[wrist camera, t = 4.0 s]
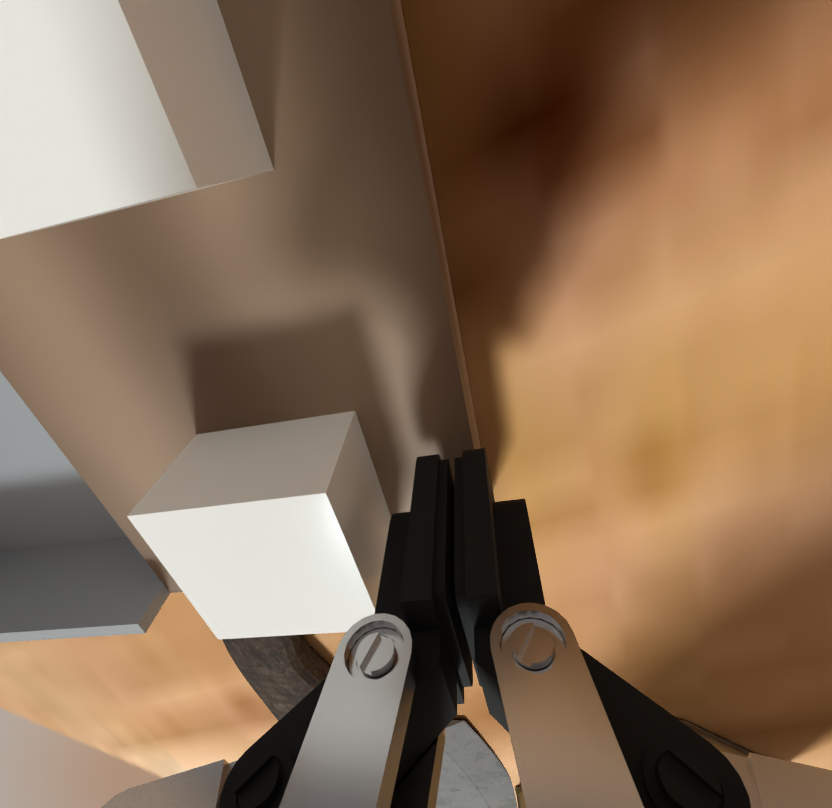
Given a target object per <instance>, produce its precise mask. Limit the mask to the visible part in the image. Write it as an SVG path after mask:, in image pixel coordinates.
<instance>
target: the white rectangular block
mask: <svg viewBox="0 0 832 808" xmlns="http://www.w3.org/2000/svg"><path fill="white" fill-rule="evenodd" d="M273 170H274V169H273V166H272V163H271V160H270V157H269V154H268V151H267V148H266V145H265V142H264V139H263V136H262V133H261V130H260V127H259V124H258V121H257V118H256V115H255V112H254V109H253V106H252V103H251V100H250V97H249V94H248V91H247V88H246V85H245V82H244V80H243V77H242V74H241V71H240V68H239V65H238V62H237V59H236V56H235V53H234V50H233V47H232V44H231V41H230V38H229V35H228V32H227V29H226V26H225V23H224V20H223V17H222V14H221V11H220V8H219V5H218V2H217V0H0V239H5V238H9V237H13V236H17V235H21V234H25V233H29V232H33V231H37V230H41V229H46V228H50V227H54V226H58V225H62V224H66V223H70V222H74V221H78V220H82V219H86V218H90V217H94V216H98V215H102V214H106V213H110V212H113V211H117V210H121V209H125V208H129V207H133V206H137V205H141V204H145V203H149V202H152V201H156V200H160V199H164V198H168V197H172V196H176V195H180V194H184V193H188V192H191V191H195V190H199V189H203V188H207V187H211V186H215V185H219V184H223V183H227V182H231V181H234V180H238V179H242V178H246V177H250V176H254V175H258V174H262V173H266V172H270V171H273Z"/></svg>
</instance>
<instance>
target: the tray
mask: <svg viewBox="0 0 832 808" xmlns="http://www.w3.org/2000/svg"><path fill="white" fill-rule="evenodd" d="M169 594H170V592H169V591H168V589H167V588H166V587H165V585H164V584H163V583H162V581H161V580H160V579H159V578H158V576H157V575H156V574H155V572H154V571H153V570H152V568H151V567H150V566H149V565H148V563H147V562H146V561H145V559H144V558H143V557H142V555H141V554H140V553H139V551H138V550H137V549H136V548H135V546H134V545H133V544H132V542H131V541H130V540H129V538H128V537H127V536H126V535H125V533H124V532H123V531H122V529H121V528H120V527H119V525H118V524H117V523H116V521H115V520H114V519H113V518H112V516H111V515H110V514H109V512H108V511H107V510H106V508H105V507H104V506H103V504H102V503H101V502H100V501H99V499H98V498H97V497H96V495H95V494H94V493H93V491H92V490H91V489H90V488H89V486H88V485H87V484H86V482H85V481H84V480H83V478H82V477H81V476H80V474H79V473H78V472H77V471H76V469H75V468H74V467H73V465H72V464H71V463H70V461H69V460H68V459H67V458H66V456H65V455H64V454H63V452H62V451H61V450H60V448H59V447H58V446H57V444H56V443H55V442H54V441H53V439H52V438H51V437H50V435H49V434H48V433H47V431H46V430H45V429H44V428H43V426H42V425H41V424H40V422H39V421H38V420H37V418H36V417H35V416H34V414H33V413H32V412H31V411H30V409H29V408H28V407H27V405H26V404H25V403H24V401H23V400H22V399H21V397H20V396H19V395H18V394H17V392H16V391H15V390H14V388H13V387H12V386H11V384H10V383H9V382H8V381H7V379H6V378H5V377H4V375H3V374H2V373H1V371H0V642H14V641H30V640H46V639H61V638H77V637H93V636H109V635H124V634H140V633H146V631H147V630H148V628H149V626H150V625H151V623H152V621H153V620H154V618H155V617H156V615H157V613H158V612H159V610H160V609H161V607H162V605H163V604H164V602H165V600H166V599H167V597H168V596H169Z"/></svg>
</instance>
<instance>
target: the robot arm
mask: <svg viewBox="0 0 832 808" xmlns="http://www.w3.org/2000/svg"><path fill="white" fill-rule="evenodd" d="M472 660H473V663H474V667H475V671H476V674H477V678H478V681H479V685H480V686H482V688H483V692H484V695H485V699H486V702H487V706H488V710H489V713H490V714H491V715H492V716H493V717H494V718H495V719H496V720H497V721H498V722H499V723H500V724H501V725H502V726H503V727H504V728H505V729H506V730H507V731H508V732H509V733H510V737H511V742H512V746H513V750H514V755H515V759H516V764H517V768H518V773H519V777H520V782H521V786H522V791H523V795H524V800H525V804H526V808H832V771H831V770H827V769H822V768H818V767H813V766H809V765H804V764H800V763H795V762H791V761H786V760H782V759H777V758H773V757H768V756H764V755H759V754H755V753H750V752H749V755H748V757H743V756H739V755H735V754H730V753H726V752H721V751H719V750H718V749H717V748H716V747H714V746H713V745H712V744H711V743H710V742H709V741H707V740H706V739H704V738H703V737H702V736H700V735H699V734H698V733H696V732H695V731H693V730H692V729H691V728H689V727H688V726H687V725H685V724H684V723H682V722H681V721H680V720H678V719H677V718H676V717H674V716H673V715H671V714H670V713H669V712H667V711H666V710H665V709H663V708H662V707H660V706H659V705H658V704H656V703H655V702H654V701H652V700H651V699H649V698H648V697H647V696H645V695H644V694H643V693H641V692H640V691H638V690H637V689H636V688H634V687H633V686H631V685H630V684H629V683H627V682H626V681H625V680H623V679H622V678H620V677H619V676H618V675H616V674H615V673H614V672H612V671H611V670H609V669H608V668H607V667H605V666H604V665H603V664H601V663H600V662H598V661H597V660H596V659H594V658H593V657H592V656H590V655H589V654H587V653H586V652H585V651H583V650H582V649H581V648H580V647H579V645H578V642H577V640H576V637H575V635H574V632H573V630H572V629H571V627H570V625H569V624H568V622H567V620H566V619H565V618H564V617H562V616H561V615H560V614H559V613H558V612H557V611H555V610H553V609H552V608H550V607H548V606H546V605H545V601H544V596H543V591H542V585H541V580H540V575H539V570H538V564H537V559H536V554H535V549H534V543H533V538H532V533H531V528H530V522H529V517H528V512H527V507H526V502H525V499H518V500H509V501H501V502H495V500H494V494H493V489H492V483H491V478H490V473H489V467H488V462H487V456H486V451H485V448H480V449H473V450H465V451H463V452H462V457H458V458H455V483H454V479H453V475H452V470H451V466H450V462H449V459H443V460H441V457H440V455H439V454H436V455H428V456H421V457H417V459H416V466H415V474H414V483H413V491H412V500H411V508H410V512H403V513H394V514H392V516H391V519H390V524H389V530H388V536H387V542H386V548H385V554H384V560H383V566H382V572H381V578H380V584H379V590H378V596H377V602H376V608H375V614H373V615H370V616H367V617H364V618H362V619H361V620H359V621H358V622H356V623H355V624H354V625H352V626H351V628H350V629H349V630H348V631H347V632H346V633H345V634H344V636H343V638H342V640H341V642H340V644H339V646H338V649H337V651H336V654H335V657H334V659H333V662H332V665H331V668H330V670H329V673H328V676H327V677H326V678H325V679H324V680H323V681H322V682H321V683H320V684H319V685H318V686H317V687H315V688H314V689H313V690H312V691H311V692H310V693H309V694H308V695H307V696H306V697H304V698H303V699H302V700H301V701H300V702H299V703H298V704H297V705H296V706H295V707H294V708H292V709H291V710H290V711H289V712H288V713H287V714H286V715H285V716H284V717H283V718H282V719H280V720H279V721H278V722H277V723H276V724H275V725H274V726H273V727H272V728H271V729H270V730H268V731H267V732H266V733H265V734H264V735H263V736H262V737H261V738H260V739H259V740H257V741H256V742H255V743H254V744H253V745H252V746H251V747H250V748H249V749H248V750H247V751H246V752H245V753H244V754H243V755H242V756H241V757H240V758H239V760H238V761H235V762H232V763H229V764H228V763H227V762H226V761H225V759H224V760H221V761H217V762H214V763H211V764H208V765H204V766H201V767H198V768H195V769H191V770H188V771H185V772H181V773H178V774H175V775H172V776H168V777H165V778H162V779H159V780H155V781H152V782H149V783H146V784H142V785H140V786H136V787H132V788H129V789H127V790H125V791H123V792H121V793H119V794H117V795H115V796H114V797H113V798H112V799H111V800H110V801H108V802H107V803H106V804H105V805H104V806H103V807H102V808H436V801H437V794H438V787H439V780H440V773H441V766H442V759H443V752H444V745H445V730H446V726H447V725H448V724H449V723H450V722H451V721H452V719H453V718H454V717H455V716H456V715H457V704H464V687H469V686H472V685H473V670H472Z"/></svg>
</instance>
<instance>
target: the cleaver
mask: <svg viewBox="0 0 832 808" xmlns="http://www.w3.org/2000/svg"><path fill="white" fill-rule="evenodd" d="M222 640H223V642H224V644H225V646H226V648H227V650H228V652H229V654H230V655H231V657H232V659H233V660H234V662H235V664H236V665H237V667H238V668H239V670H240V671H241V673H242V674H243V676H244V677H245V678H246V680H247V681H248V682H249V684H250V685H251V686H252V688H253V689H254V690H255V692H256V693H257V694H258V695H259V697H260V698H261V699H262V701H263V702H264V703H265V704H266V706H267V707H268V708H269V709H270V711H271V712H272V713H273V714H274V716H275V717H276V718H277V719H278V721H279V720H280V719H282V718H283V717H284V716H285V715H286V714H287V713H288V712H289V711H290V710H291V709H292V708H294V707H295V706H296V705H297V704H298V703H299V702H300V701H301V700H302V699H303V698H304V697H306V696H307V695H308V694H309V693H310V692H311V691H312V690H313V689H314V688H315V687H317V686H318V685H319V684H320V683H321V682H322V681H323V680H324V679H325V678H326V677H327V676H328V673H329V670H330V667H329V665H328V664H327V663H326V662H325V661H324V660H323V659H322V658H321V657H320V656H319V655H318V654H317V653H316V652H315V651H314V650H313V649H312V648H311V647H310V646H309V645H308V644H307V643H306V641H305V640H304V638H303V637H302V635H286V636H269V637H252V638H235V639H222ZM436 808H517V802H516V798H515V793H514V789H513V786H512V782H511V779H510V776H509V774H508V772H507V771H506V769H505V768H504V766H503V765H502V763H501V762H500V761H499V760H498V758H497V757H496V756H495V754H494V753H493V752H492V750H491V749H490V748H489V747H488V746H487V745H486V744H485V742H484V741H483V740H482V739H481V738H480V737H479V736H478V735H477V734H476V733H475V731H474V730H473V729H472V728H471V727H470V726H469V725H468V724H467V723H466V722H465V721H464V720H452V721H451V722H450V723H449V724H448V725H447V726H446V730H445V745H444V752H443V759H442V766H441V773H440V780H439V787H438V794H437V801H436Z"/></svg>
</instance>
